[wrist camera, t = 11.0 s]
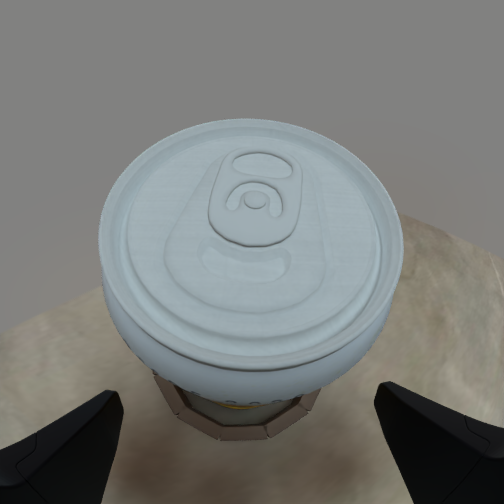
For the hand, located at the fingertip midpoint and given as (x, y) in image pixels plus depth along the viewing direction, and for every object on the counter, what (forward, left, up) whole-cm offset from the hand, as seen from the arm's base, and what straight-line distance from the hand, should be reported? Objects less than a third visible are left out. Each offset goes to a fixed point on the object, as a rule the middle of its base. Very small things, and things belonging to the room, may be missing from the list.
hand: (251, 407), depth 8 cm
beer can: (+3, +2, -9) cm, 10 cm away
